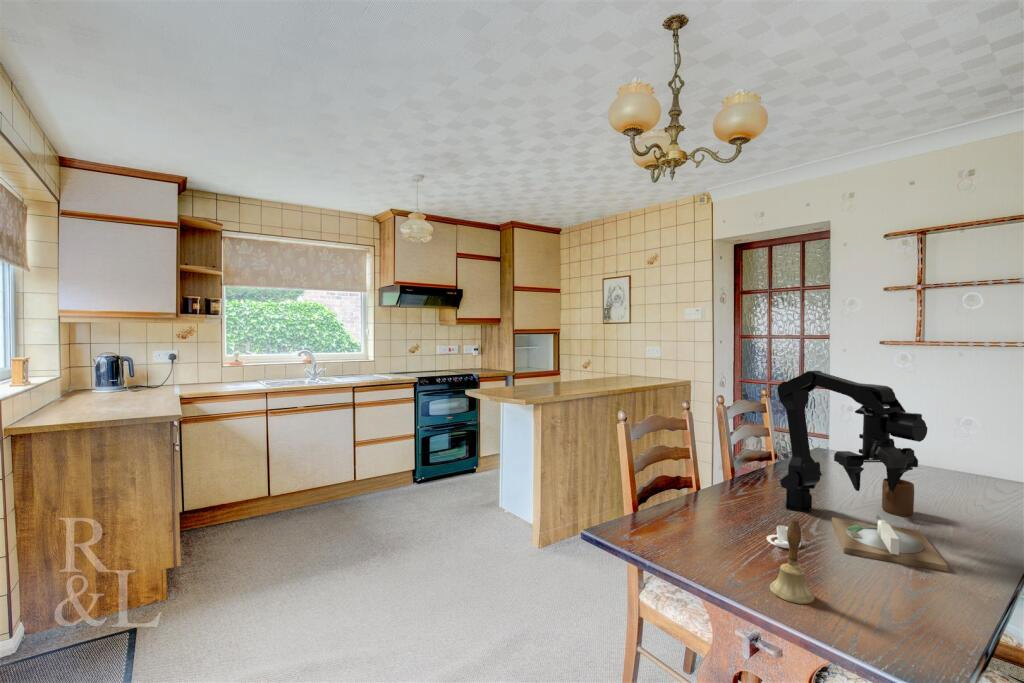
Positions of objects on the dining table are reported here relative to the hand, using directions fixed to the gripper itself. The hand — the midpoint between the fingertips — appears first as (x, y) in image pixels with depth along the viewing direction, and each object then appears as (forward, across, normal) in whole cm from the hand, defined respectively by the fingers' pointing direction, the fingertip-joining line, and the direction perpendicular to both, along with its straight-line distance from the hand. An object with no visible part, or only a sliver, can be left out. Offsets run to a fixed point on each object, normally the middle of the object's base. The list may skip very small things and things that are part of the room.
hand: (874, 490), depth 129 cm
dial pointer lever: (+11, -1, -6) cm, 12 cm away
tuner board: (+13, 0, -4) cm, 13 cm away
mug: (+13, +19, +17) cm, 29 cm away
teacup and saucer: (+14, -28, -2) cm, 32 cm away
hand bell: (+13, -38, -26) cm, 48 cm away
